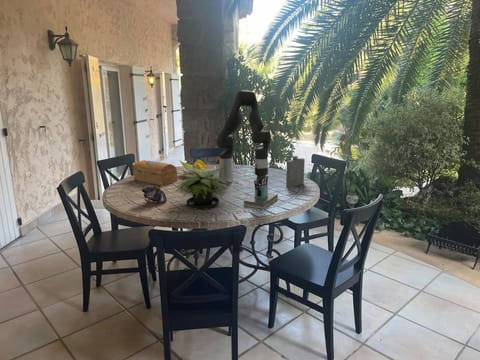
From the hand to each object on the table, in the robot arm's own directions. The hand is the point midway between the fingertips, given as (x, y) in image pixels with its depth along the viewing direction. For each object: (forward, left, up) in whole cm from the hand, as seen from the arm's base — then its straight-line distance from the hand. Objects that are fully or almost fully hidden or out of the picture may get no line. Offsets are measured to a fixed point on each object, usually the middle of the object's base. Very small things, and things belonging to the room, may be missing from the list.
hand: (261, 195), depth 201 cm
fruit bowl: (-73, +39, -5) cm, 83 cm away
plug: (0, 0, -3) cm, 3 cm away
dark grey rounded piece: (-55, -29, -5) cm, 62 cm away
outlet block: (0, 0, -4) cm, 4 cm away
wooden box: (-90, +11, -5) cm, 91 cm away
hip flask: (+4, +44, -5) cm, 44 cm away
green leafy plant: (-53, +10, -5) cm, 54 cm away
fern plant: (-28, -18, -5) cm, 34 cm away
